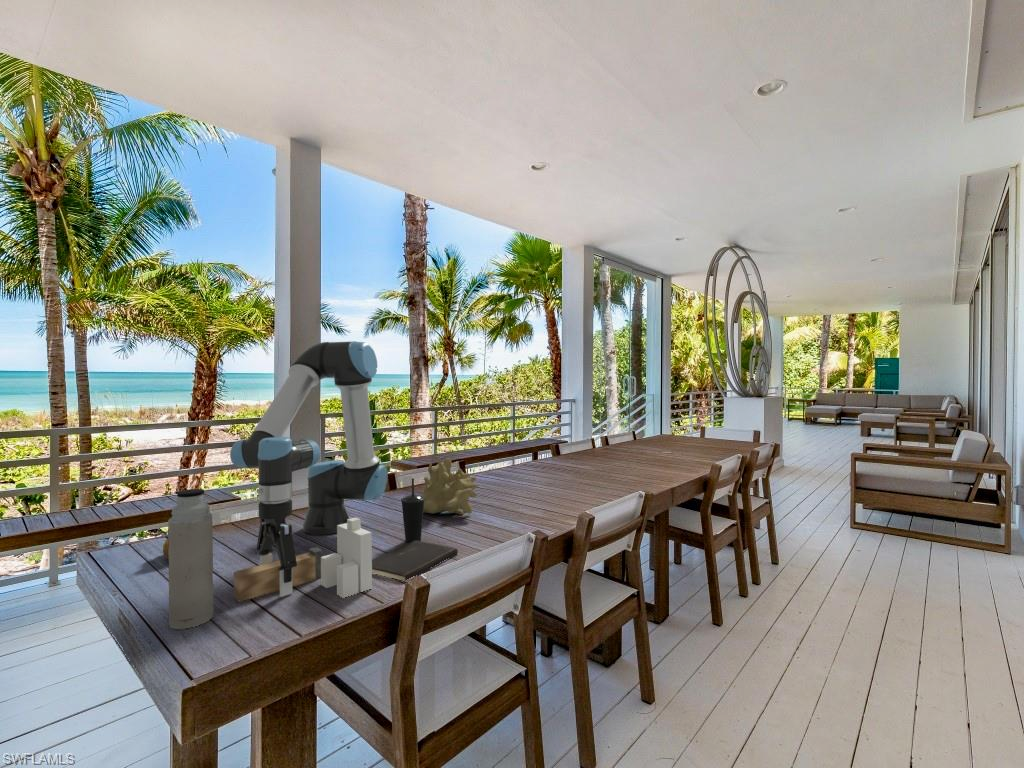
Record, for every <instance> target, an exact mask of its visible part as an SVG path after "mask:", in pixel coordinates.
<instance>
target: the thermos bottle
mask: <svg viewBox="0 0 1024 768" xmlns="http://www.w3.org/2000/svg"><path fill="white" fill-rule="evenodd" d="M176 494H177V495H176V496H177V498H176V505H175V506H173V507H172V509H171V513H170V514H171V515H172V517H170V518H168V521H167V522H168V524H167V525H168V527H167V531H168V533H167V534H168V535H167V538H168V548H169V560H168V607H169V608H168V611H169V612H168V613H169V615H168V616H169V617H168V619H169V623H168V625H170V626H169V627H170V628H171V629H173V628H174V629H173V630H186V629H185V628H189V629H191V628H190V627H193V628H195V627H194V626H197V625H200V624H202V625H204V624H203V623H205V622H207V621H208V622H210V621H211V620H212V619H213V618H214V581H213V580H214V577H213V575H214V543H213V541H214V538H213V536H214V533H213V532H214V531H213V529H214V528H213V524H214V523H213V522H214V521H213V513H212V512H210V508H211V507H210V505H209V503H207V502H205V496H204V494H205V489H202V488H190V489H184V490H180V491H177V493H176ZM212 617H213V618H212ZM211 618H212V619H211ZM210 619H211V620H210ZM209 620H210V621H209ZM208 622H207V623H208ZM205 624H206V623H205ZM200 626H201V625H200ZM197 627H198V626H197Z"/></svg>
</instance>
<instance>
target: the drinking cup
mask: <svg viewBox="0 0 1024 768" xmlns="http://www.w3.org/2000/svg"><path fill="white" fill-rule="evenodd" d="M424 500H425V497H423V496H422V495H420V494H417V493H415V478H411V493H410V494H408V495H406V496H403V497H401V498H400V502H401V507H402V508H401V509H402V519H403V527H404V528H403V529H404V538H405V539H404V540H405V543H406V544H408V543H410V542H413V541H415V540H417V541H422V531H423V520H424V512H423V510H424Z"/></svg>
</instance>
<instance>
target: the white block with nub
mask: <svg viewBox="0 0 1024 768" xmlns="http://www.w3.org/2000/svg"><path fill="white" fill-rule="evenodd" d="M361 519H362V518H359V517H352V518H349V519H347V523H345V524H341V525H337V533H336V537H337V538H336V548H337V549H336V550H337V551H336V552H337V553H336V552H333V553H331V554H327V555H322V557H321V578H320V585H321V586H322V587H324V588H325V589H328V588H331V587H334V586H336V595H337V596H338V595H339V596H340V597H339V596H338V597H339V598H341V597H342V598H341V599H343V598H344V599H346V598H345V597H347V598H349V597H352V596H355V595H357V593H358V594H359V593H360V592H363V591H365V592H367V591H366V590H368V591H370V590H369V589H371V590H373V574H372V558H373V549H372V548H373V545H372V544H373V543H372V542H373V540H372V539H373V538H372V537H373V534H372V533H373V532H371V531H369V530H367V529H364V528H362V527H361V522H362V521H361ZM363 593H364V592H363ZM354 594H355V595H354ZM351 595H352V596H351ZM348 596H349V597H348Z"/></svg>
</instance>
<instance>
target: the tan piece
mask: <svg viewBox="0 0 1024 768" xmlns="http://www.w3.org/2000/svg"><path fill="white" fill-rule="evenodd" d="M321 557H323V549H321V548H319V547H317V546H316V547H312V548H308V552H307V553H301V554H299V555H296V562H297V566H296V567H292V587H295V586H299V585H302V584H306V583H309V582H312V581H316V580H317V578H318V579H321V578H320V577H321ZM288 563H289V562H288ZM280 567H281V564H280V560H275V561H274V560H273V561H272V562H271V563H267V564H263V565H260V564H259V565H256V566H251V567H248V568H244V569H240V570H236V571H234V572H233V598H234V597H235V598H236V599H238V600H239V601H242V602H245V601H244V600H246V601H248V600H247V599H249V600H252V599H255V598H254V597H256V598H258V597H257V596H259V597H261V596H260V595H262V596H264V595H263V594H266V595H268V593H269V594H272V593H276V592H280V571H279V570H278V569H279V568H280ZM305 582H306V583H305ZM275 591H276V592H275ZM271 592H272V593H271ZM235 598H234V599H235ZM251 598H252V599H251ZM236 599H235V600H236ZM238 600H237V601H238ZM239 601H238V602H239Z"/></svg>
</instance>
